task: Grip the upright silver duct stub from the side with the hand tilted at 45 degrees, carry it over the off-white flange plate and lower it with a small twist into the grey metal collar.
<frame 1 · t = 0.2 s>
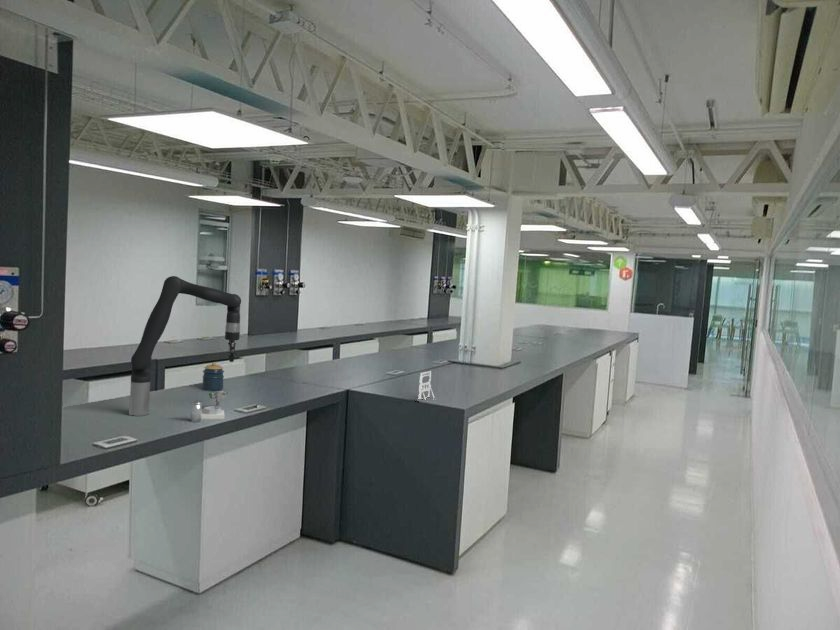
hand: (231, 360, 329), 29 cm above the table, tool pointing down, fingers open, 8 cm apart
flange plate: (212, 416, 322), on the table
canister: (212, 389, 392), on the table
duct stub: (195, 421, 310), on the table
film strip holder: (422, 402, 397), on the table
mechanical component: (217, 409, 338), on the table
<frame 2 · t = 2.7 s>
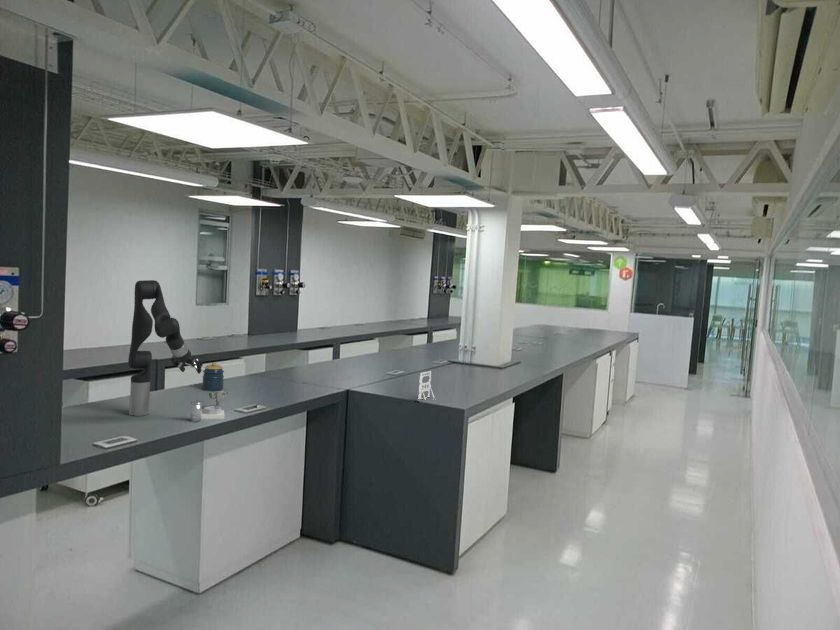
hand: (191, 371, 300), 27 cm above the table, tool tilted 45°, fingers open, 8 cm apart
nothing on the table moved.
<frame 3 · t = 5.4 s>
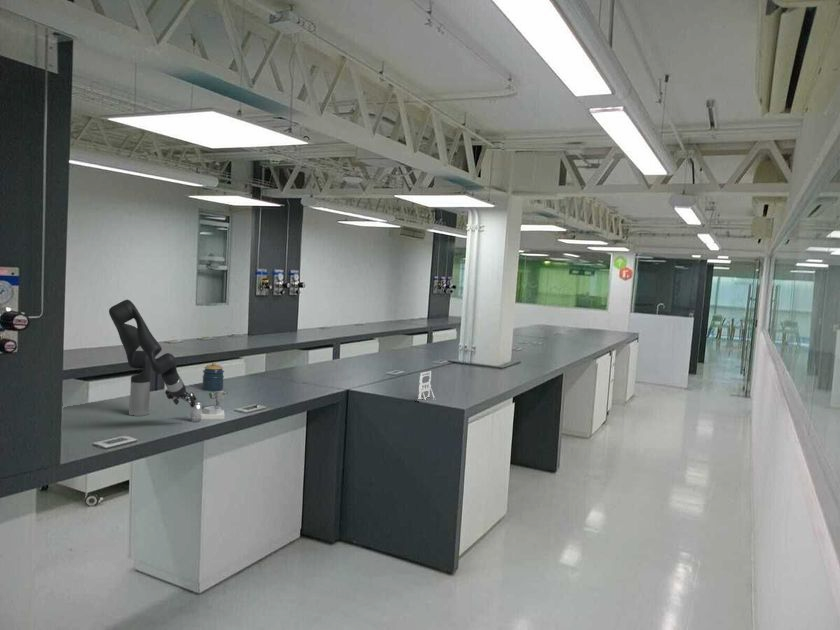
hand: (185, 404, 301), 10 cm above the table, tool tilted 45°, fingers open, 8 cm apart
nothing on the table moved.
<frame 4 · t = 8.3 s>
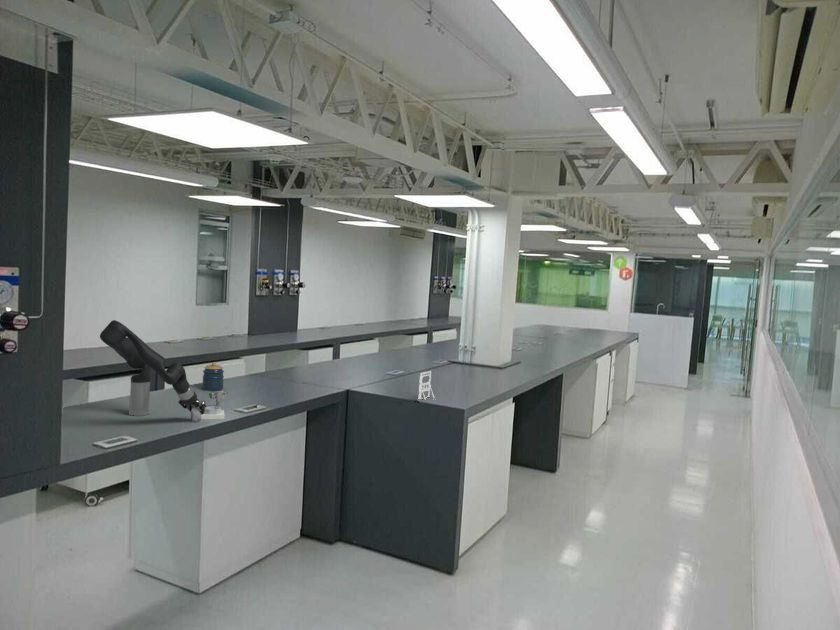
hand: (198, 412, 311), 4 cm above the table, tool tilted 45°, fingers closed on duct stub, 5 cm apart
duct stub: (195, 421, 310), on the table, touching gripper
everything else where it was.
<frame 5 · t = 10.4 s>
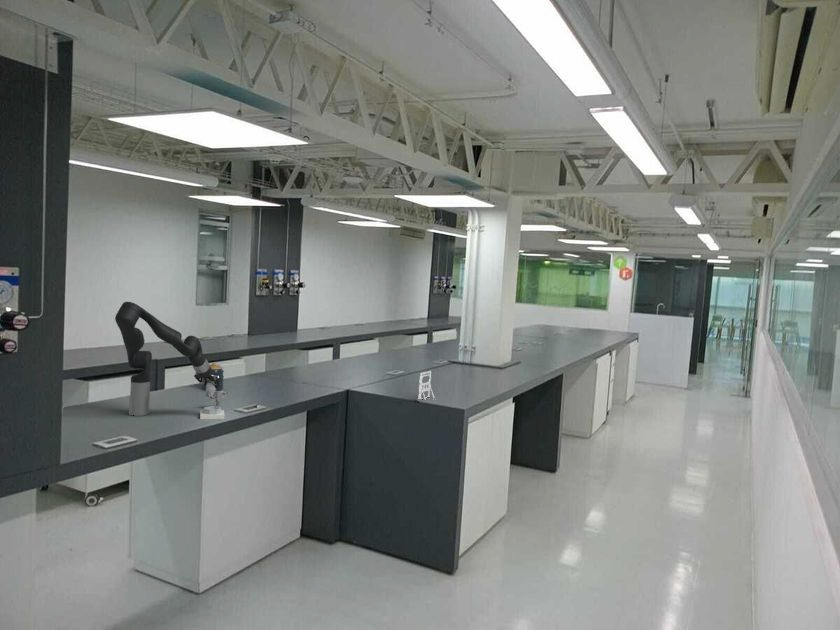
hand: (213, 387, 320), 16 cm above the table, tool tilted 45°, fingers closed on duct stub, 5 cm apart
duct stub: (210, 395, 318), point 12 cm above the table, touching gripper
everything else where it was.
when the fingers open (9 cm above the table, at t = 12.7 s): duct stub drops 3 cm, resting on flange plate.
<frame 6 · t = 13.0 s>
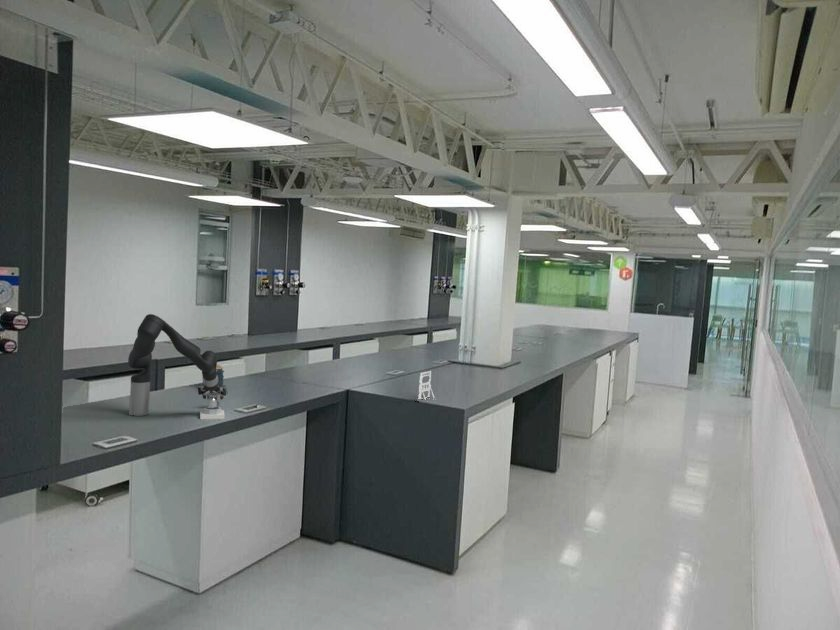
hand: (213, 397, 323), 10 cm above the table, tool tilted 45°, fingers open, 8 cm apart
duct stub: (211, 412, 321), point 2 cm above the table, touching flange plate
everything else where it was.
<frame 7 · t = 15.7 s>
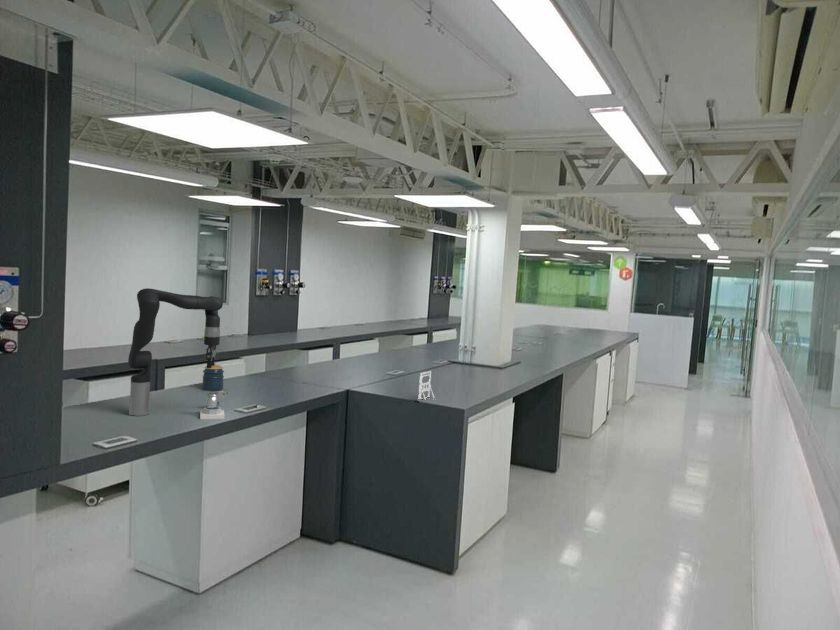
hand: (210, 366, 311), 28 cm above the table, tool pointing down, fingers open, 8 cm apart
nothing on the table moved.
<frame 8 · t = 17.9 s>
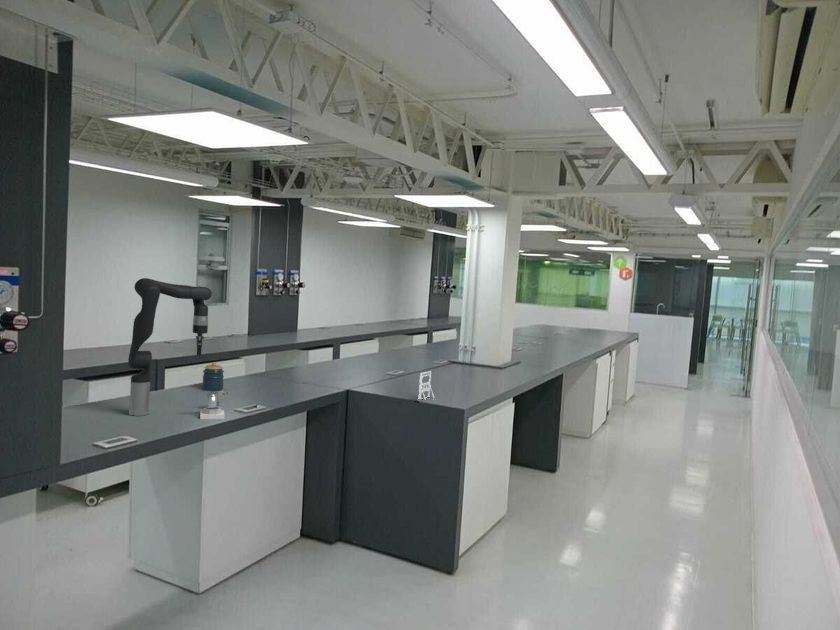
hand: (199, 354, 324), 32 cm above the table, tool pointing down, fingers open, 8 cm apart
nothing on the table moved.
at the end: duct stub 0.4 cm from the flange plate (horizontally); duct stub point 2.1 cm above the table; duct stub tilted 1° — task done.
